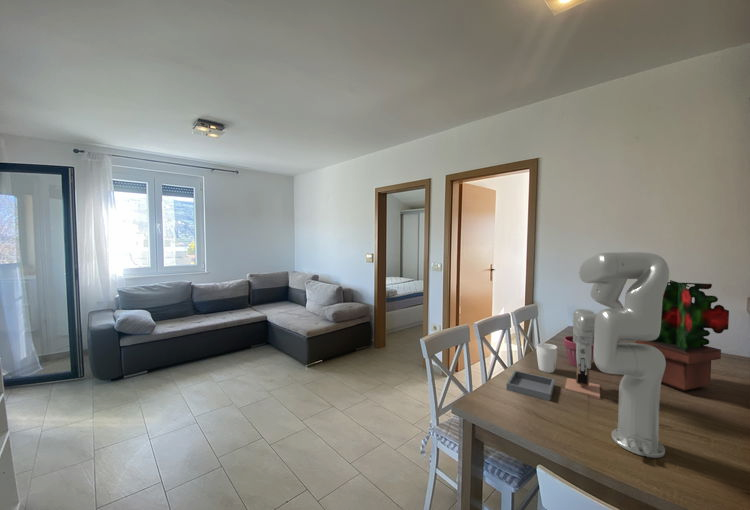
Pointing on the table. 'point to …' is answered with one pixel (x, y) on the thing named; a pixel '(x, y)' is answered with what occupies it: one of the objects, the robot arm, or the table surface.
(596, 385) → the terracotta board
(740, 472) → the table surface
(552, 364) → the cup
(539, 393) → the bin
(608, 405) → the table surface
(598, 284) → the robot arm
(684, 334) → the potted plant
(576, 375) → the walnut peg
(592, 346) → the plant pot
